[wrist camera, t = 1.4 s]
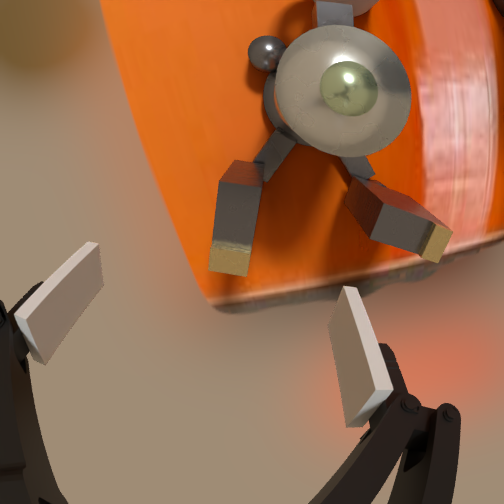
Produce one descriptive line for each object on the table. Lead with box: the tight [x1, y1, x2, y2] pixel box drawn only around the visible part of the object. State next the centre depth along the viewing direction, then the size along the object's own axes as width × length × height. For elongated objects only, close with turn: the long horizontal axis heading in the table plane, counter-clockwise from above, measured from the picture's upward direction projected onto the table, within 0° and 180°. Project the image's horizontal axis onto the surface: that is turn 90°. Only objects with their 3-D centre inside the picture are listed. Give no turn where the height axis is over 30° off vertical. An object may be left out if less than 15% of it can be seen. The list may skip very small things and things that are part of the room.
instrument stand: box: [248, 1, 411, 182], centre depth 20 cm, size 13×16×15 cm
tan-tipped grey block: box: [208, 160, 265, 277], centre depth 26 cm, size 7×3×12 cm, turn 171°
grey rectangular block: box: [344, 176, 453, 263], centre depth 25 cm, size 7×3×12 cm, turn 76°
